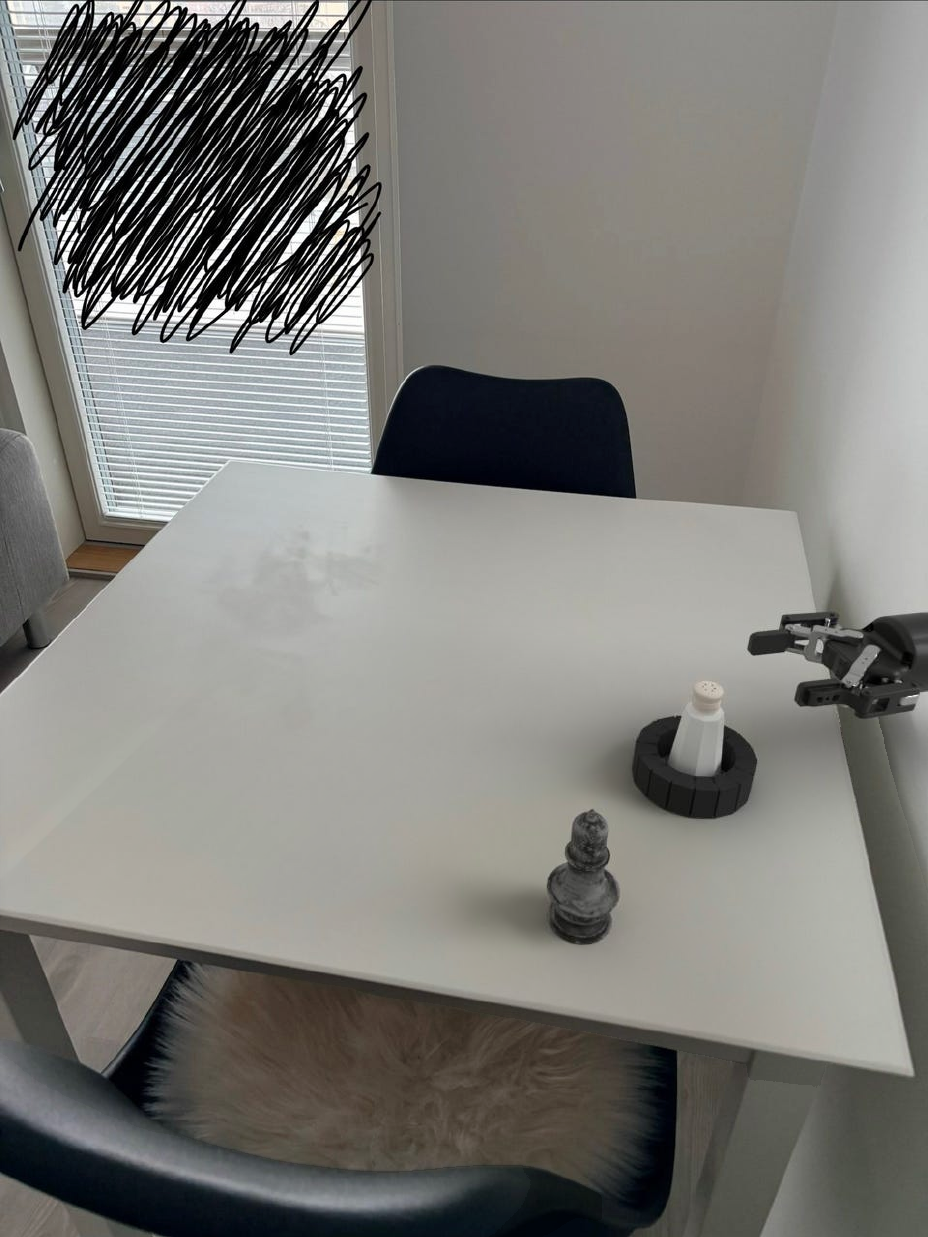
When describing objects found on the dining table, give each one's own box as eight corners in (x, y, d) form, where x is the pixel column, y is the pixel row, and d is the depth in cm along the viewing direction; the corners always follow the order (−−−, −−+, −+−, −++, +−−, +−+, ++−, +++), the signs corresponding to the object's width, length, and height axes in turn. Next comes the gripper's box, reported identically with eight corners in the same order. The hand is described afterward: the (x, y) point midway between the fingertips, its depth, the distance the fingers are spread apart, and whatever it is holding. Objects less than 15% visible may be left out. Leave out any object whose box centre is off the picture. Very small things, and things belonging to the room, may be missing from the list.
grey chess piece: (536, 936, 71) (545, 826, 65) (553, 883, 76) (563, 776, 69) (608, 956, 69) (624, 845, 63) (620, 900, 74) (637, 793, 68)
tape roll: (772, 781, 87) (779, 754, 86) (706, 836, 81) (712, 808, 79) (677, 728, 95) (682, 702, 93) (609, 774, 88) (612, 747, 86)
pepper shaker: (663, 791, 86) (679, 700, 80) (665, 756, 90) (680, 668, 85) (720, 800, 85) (739, 708, 79) (719, 765, 89) (737, 675, 84)
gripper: (890, 582, 87) (742, 596, 84) (994, 657, 75) (826, 677, 72) (871, 646, 91) (729, 661, 88) (967, 727, 79) (806, 749, 76)
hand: (773, 668), depth 80 cm, fingers open, 8 cm apart
